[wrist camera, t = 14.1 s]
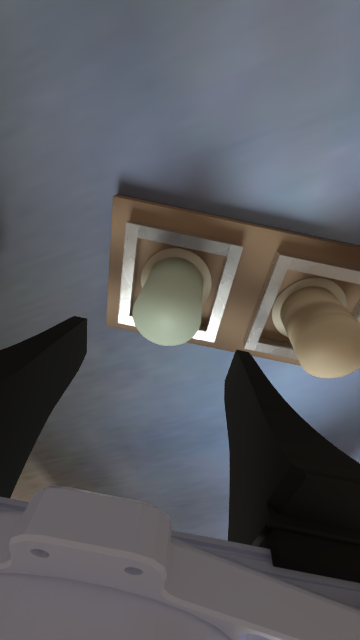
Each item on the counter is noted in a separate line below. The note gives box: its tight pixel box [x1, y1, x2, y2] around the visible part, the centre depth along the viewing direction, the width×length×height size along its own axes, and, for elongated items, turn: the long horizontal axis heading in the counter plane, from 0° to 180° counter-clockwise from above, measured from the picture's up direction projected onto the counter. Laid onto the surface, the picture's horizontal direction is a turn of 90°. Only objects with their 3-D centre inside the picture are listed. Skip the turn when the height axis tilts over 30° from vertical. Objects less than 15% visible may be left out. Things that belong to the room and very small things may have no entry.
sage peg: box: [132, 257, 203, 346], centre depth 18 cm, size 4×4×5 cm
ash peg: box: [280, 286, 360, 378], centre depth 18 cm, size 4×4×5 cm
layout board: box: [106, 194, 360, 366], centre depth 20 cm, size 10×20×2 cm, turn 79°
